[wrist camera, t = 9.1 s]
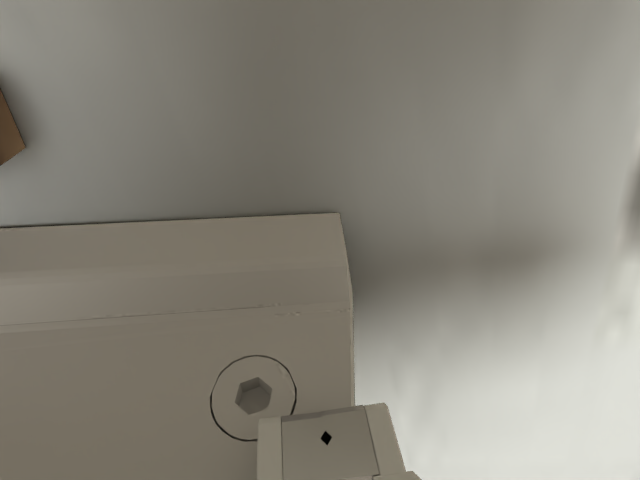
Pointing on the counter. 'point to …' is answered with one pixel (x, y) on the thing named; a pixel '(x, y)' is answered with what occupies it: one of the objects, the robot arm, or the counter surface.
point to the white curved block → (167, 343)
